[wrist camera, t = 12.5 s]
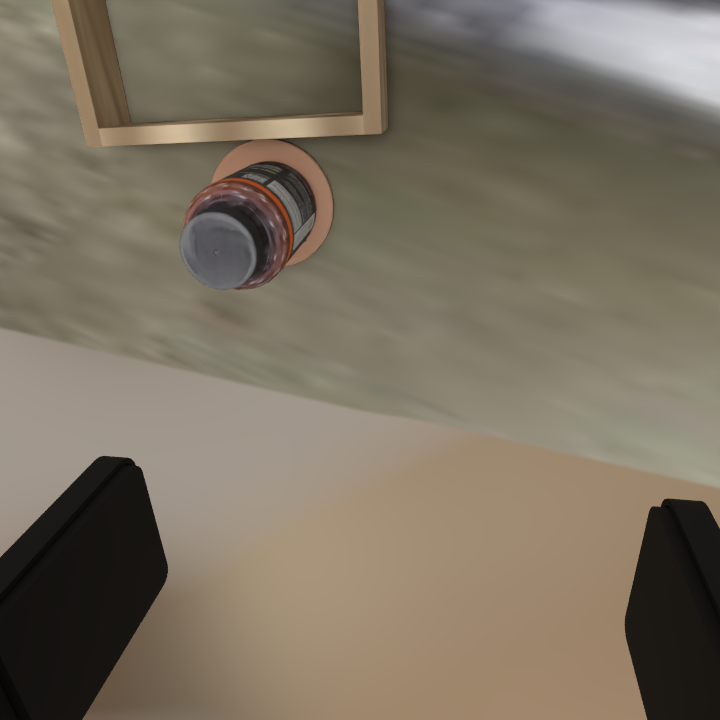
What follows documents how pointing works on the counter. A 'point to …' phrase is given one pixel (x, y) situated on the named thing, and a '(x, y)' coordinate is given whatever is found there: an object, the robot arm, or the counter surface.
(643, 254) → the counter surface
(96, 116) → the frame
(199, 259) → the supplement bottle
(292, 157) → the saucer
